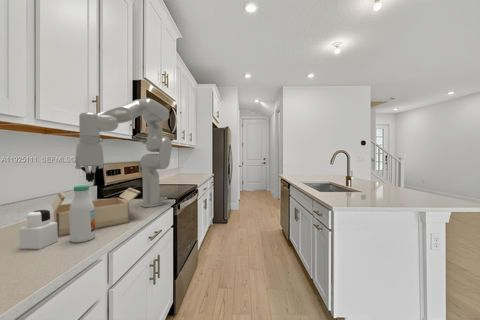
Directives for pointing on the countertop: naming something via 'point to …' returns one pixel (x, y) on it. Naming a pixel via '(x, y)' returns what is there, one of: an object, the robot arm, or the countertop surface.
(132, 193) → the flap
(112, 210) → the carton
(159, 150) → the robot arm
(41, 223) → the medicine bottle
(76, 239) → the milk bottle
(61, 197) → the flap
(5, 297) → the countertop surface
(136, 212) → the countertop surface
